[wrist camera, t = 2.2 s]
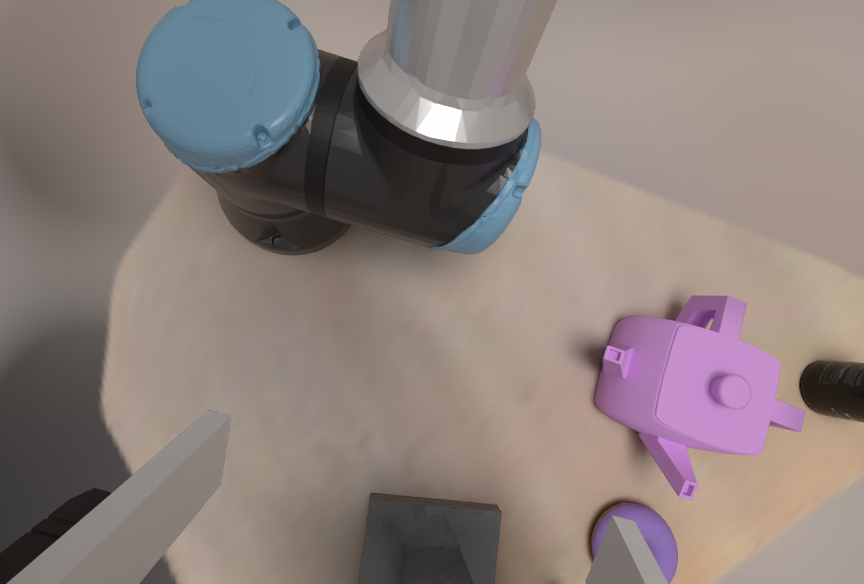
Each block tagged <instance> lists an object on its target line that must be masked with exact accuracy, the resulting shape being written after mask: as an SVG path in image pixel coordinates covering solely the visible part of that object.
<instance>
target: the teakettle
mask: <svg viewBox="0 0 864 584" xmlns="http://www.w3.org/2000/svg"><path fill="white" fill-rule="evenodd" d="M746 304H747V303H744V302H742V301H739V300H737V299H734V298H732V297H730V296H691V298H690V299H689V301H688V302H687V304H686V305H685V307H684V308H683V310H682V311H681V312H680V314H679V315H678V317H677V318H676V320H675V321H673V320H668V319H662V318H655V317H639V316H633V317H627V318H624V319H622V320H621V321H619V322H618V323H617V324H616V326H615V328H614V330H613V333H612V336H611V339H610V342H609V345H607V346H606V349H605V352H604V356H603V365H602V369H601V372H600V376H599V380H598V384H597V389H596V394H595V403H596V405H597V407H598V408H599V409H600V410H601V411H602V412H603V413H605V414H606V415H607V416H609V417H611V418H612V419H614V420H616V421H618V422H620V423H622V424H623V425H625V426H627V427H629V428H631V429H633V430H636V431H638V432H639V437H640V438H641V440H642V441H643V443H644V445H645V446H646V448H647V449H648V451H649V452H650V454H651V455H652V457H653V458H654V460H655V462H656V463H657V465H658V466H659V468H660V469H661V471H662V472H663V474H664V475H665V477H666V479H667V480H668V482H669V483H670V485H671V486H672V488H673V489H674V491H675V492H676V494H677V495H678V496H679V497H682V498H685V499H688V500H691V501H692V499H693V496H694V494H695V492H696V489H697V487H698V483H697V482H696V479H695V476H694V473H693V469H692V466H691V463H690V460H689V456H688V453H687V447H691V448H696V449H701V450H706V451H712V452H719V453H726V454H737V455H753V456H755V455H759V454H760V453H761V451H762V448H763V445H764V442H765V439H766V435H767V431H768V428H769V426H774V427H779V428H783V429H788V430H793V431H798V432H801V428H802V423H803V419H804V415H805V411H804V410H801V409H799V408H796V407H794V406H791V405H789V404H786V403H784V402H781V401H779V400H776V399H775V397H776V392H777V387H778V381H779V375H780V367H781V365H780V362H779V361H778V360H777V359H776V358H774V357H773V356H771V355H770V354H768V353H766V352H764V351H762V350H760V349H758V348H756V347H754V346H752V345H749V344H747V343H745V342H742V341H740V340H738V339H739V335H740V330H741V326H742V322H743V317H744V313H745V309H746ZM713 318H714V319H713ZM711 319H713V322H712V325H711V328H710V330H709V329H705V327H706V326H707V324H708V323H709V321H710V320H711Z"/></svg>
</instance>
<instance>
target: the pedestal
mask: <svg viewBox="0 0 864 584" xmlns="http://www.w3.org/2000/svg"><path fill="white" fill-rule="evenodd" d="M501 514H502V512H501V511H500V509H499V508H498V506H497V505H492V504H482V503H471V502H461V501H450V500H439V499H429V498H418V497H408V496H397V495H387V494H376V493H371V498H370V505H369V512H368V519H367V526H366V533H365V540H364V547H363V554H362V561H361V568H360V575H359V582H358V584H494V579H495V569H496V560H497V551H498V541H499V532H500V523H501Z"/></svg>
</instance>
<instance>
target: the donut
mask: <svg viewBox="0 0 864 584" xmlns="http://www.w3.org/2000/svg"><path fill="white" fill-rule="evenodd" d="M612 516H616V517H620V518H624V519H627V520H631V521H635V523H636V525H637V526H638V528H639V530H640V532H641V534H642V536H643V538H644V539H645V541H646V543H647V545H648V547H649V549H650V551H651V552H652V554H653V556H654V558H655V560H656V562H657V564H658V565H659V567H660V569H661V571H662V573H663V575H664V577H665V578H666V580H667V582H668V584H669V583H670V582H671V580H672V579H673V577H674V575H675V572H676V569H677V562H678V551H677V545H676V541H675V538H674V536H673V533H672V531H671V529H670V527H669V526H668V524H667V523H666V522H665V520H664V519H663V518H662V517H661V516H660V515H659V514H658V513H656V512H655V511H653V510H652V509H651V508H649V507H646V506H643V505H639V504H635V503H626V502H622V503H620V504H618V505H615V506H612V507H610V508H609V509H608V510H606V511H605V512H604V513H603V514H602V515H601V516H600V517H599V519H598V521H597V522H596V524H595V527H594V529H593V532H592V539H591V548H592V555H593V560H594V559H595V557H596V554H597V552H598V549H599V547H600V545H601V542H602V540H603V537H604V535H605V533H606V530H607V528H608V525H609V523H610V520H611V518H612Z"/></svg>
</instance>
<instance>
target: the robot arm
mask: <svg viewBox="0 0 864 584" xmlns="http://www.w3.org/2000/svg"><path fill="white" fill-rule="evenodd" d="M556 1H557V0H391V1H390V10H389V18H388V27H387V30H385V31H383V32H382V33H380V34H378V35H377V36H375V37H373V38H372V39H371V40H369V42H368V43H367V44H366V45H365V46H364V48H363V50H362V51H361V53H360V56H359V59H358V62H356V61H353V60H350V59H347V58H344V57H341V56H338V55H335V54H332V53H328V52H325V51H322V50H318V49H317V46H316V43H315V41H314V39H313V37H312V35H311V34H310V32H309V31H308V30H307V29H306V28H305V27H304V26H303V25H302V24H301V22H300V20H299V18H298V17H297V16H296V15H295V14H294V13H293V12H292V11H291V10H290V9H289V8H287V7H286V6H285V5H283V4H282V3H280V2H278V1H276V0H190V2H189V3H187V4H186V5H184V6H181V7H177V8H173V9H172V10H170V11H169V12H168V13H167V14H166V15H165V16H164V17H163V18H162V19H161V20H160V21H159V22H158V23H157V24H156V26H155V27H154V28H153V29H152V31H151V32H150V34H149V35H148V37H147V39H146V41H145V43H144V45H143V47H142V50H141V53H140V55H139V59H138V63H137V71H136V88H137V95H138V100H139V103H140V106H141V108H142V111H143V114H144V115H145V117H146V119H147V121H148V123H149V124H150V126H151V127H152V129H153V130H154V131H155V132H156V134H157V135H158V136H159V137H160V139H161V140H162V141H163V143H164V144H165V146H166V147H167V149H168V150H169V151H170V152H171V153H172V154H173V155H174V156H175V157H176V158H177V159H180V160H181V162H182V163H184V164H186V165H188V166H189V167H190V168H192V169H193V170H194V171H195V172H196V173H197V174H198V175H200V176H201V177H202V178H203V179H204V180H205V181H206V182H208V183H209V184H210V185H211V186H212V187H213V188H215V189H216V190H217V194H218V198H219V202H220V205H221V207H222V210H223V212H224V213H225V215H226V217H227V219H228V220H229V222H230V223H231V224H232V225H233V227H234V228H235V229H236V230H237V231H238V232H239V233H240V234H241V235H243V236H244V237H245V238H247V239H248V240H249V241H251V242H252V243H254V244H255V245H257V246H259V247H261V248H263V249H265V250H268V251H271V252H274V253H279V254H285V255H301V254H307V253H311V252H315V251H318V250H320V249H323V248H325V247H327V246H329V245H330V244H332V243H333V242H335V241H336V240H337V239H339V238H340V237H341V236H342V235H343V234H344V233H345V232H346V230H347V229H348V228H349V227H350V225H353V226H357V227H360V228H364V229H367V230H370V231H374V232H377V233H381V234H384V235H387V236H391V237H394V238H398V239H401V240H404V241H408V242H411V243H415V244H418V245H421V246H425V247H428V248H429V249H432V250H447V251H451V252H456V253H461V254H475V253H479V252H481V251H483V250H485V249H486V248H488V247H489V246H490V245H492V244H493V243H494V242H495V241H496V240H497V239H498V237H499V236H500V235H501V234H502V233H503V231H504V230H505V229H506V227H507V226H508V224H509V223H510V221H511V220H512V218H513V217H514V215H515V213H516V211H517V210H518V208H519V206H520V203H521V198H522V193H523V192H524V190H525V189H526V188H527V187H528V186H529V183H530V181H531V179H532V176H533V173H534V171H535V167H536V164H537V160H538V157H539V152H540V146H541V128H540V126H539V123H538V121H537V120H536V119H535V118H533V115H534V111H535V96H534V91H533V89H532V86H531V84H530V82H529V80H528V77H527V75H526V72H527V69H528V67H529V65H530V62H531V60H532V57H533V55H534V53H535V51H536V48H537V46H538V44H539V41H540V39H541V37H542V34H543V32H544V29H545V27H546V25H547V23H548V20H549V18H550V16H551V13H552V11H553V8H554V6H555V4H556ZM230 422H231V415H228V414H224V413H220V412H216V411H212V410H208V411H207V412H206V413H205V414H204V415H203V416H201V417H200V418H199V419H198V420H197V421H196V422H194V423H193V424H192V425H191V426H190V427H189V428H187V429H186V430H185V431H184V432H183V433H182V434H180V435H179V436H178V437H177V438H176V439H175V440H173V441H172V442H171V443H170V444H169V445H168V446H166V447H165V448H164V449H163V450H162V451H161V452H159V453H158V454H157V455H156V456H155V457H154V458H152V459H151V460H150V461H149V462H148V463H147V464H145V465H144V466H143V467H142V468H141V469H140V470H138V471H137V472H136V473H135V474H134V475H133V476H131V477H130V478H129V479H128V480H127V481H126V482H124V484H122V485H121V486H120V487H119V488H117V489H116V490H115V491H114V492H113V493H111V492H107V491H104V490H100V489H96V488H93V489H91V490H89V491H87V492H85V493H83V494H80V495H78V496H76V497H74V498H72V499H70V500H68V501H67V502H66V503H64V504H63V505H62V506H60V507H59V508H58V509H57V510H55V511H54V512H53V513H52V514H50V515H49V517H48V518H47V519H44V520H43V521H41V522H40V523H39V524H37V525H36V526H35V527H33V528H32V529H31V531H30V532H29V533H26V534H25V535H24V536H22V537H21V538H19V539H18V540H17V541H16V542H15V543H13V544H12V545H11V546H9V547H8V548H7V549H5V550H4V551H3V552H1V553H0V584H139V583H140V582H141V581H142V579H143V578H144V577H145V576H146V575H147V573H148V572H149V571H150V570H151V569H152V567H153V566H154V565H155V564H156V562H157V561H158V560H159V559H160V558H161V556H162V555H163V554H164V553H165V552H166V550H167V549H168V548H169V547H170V546H171V544H172V543H173V542H174V541H175V539H176V538H177V537H178V536H179V535H180V533H181V532H182V531H183V530H184V529H185V527H186V526H187V525H188V524H189V522H190V521H191V520H192V519H193V518H194V516H195V515H196V514H197V513H198V512H199V510H200V509H201V508H202V507H203V506H204V504H205V503H206V502H207V501H208V499H209V498H210V497H211V496H212V495H213V493H214V492H215V491H216V490H217V489H218V487H219V486H220V485H221V479H222V473H223V466H224V460H225V453H226V447H227V441H228V434H229V428H230ZM586 584H668V582H667V580H666V578H665V577H664V575H663V573H662V571H661V569H660V567H659V565H658V564H657V562H656V560H655V558H654V556H653V554H652V552H651V551H650V549H649V547H648V545H647V543H646V541H645V539H644V538H643V536H642V534H641V532H640V530H639V528H638V526H637V525H636V523H635V521H631V520H627V519H624V518H620V517H616V516H612V518H611V520H610V523H609V525H608V528H607V530H606V533H605V535H604V537H603V540H602V542H601V545H600V547H599V549H598V552H597V554H596V557H595V559H594V562H593V564H592V566H591V569H590V571H589V574H588V576H587V578H586Z"/></svg>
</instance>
